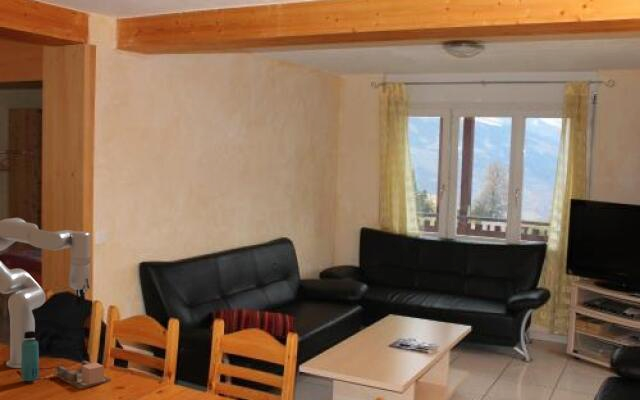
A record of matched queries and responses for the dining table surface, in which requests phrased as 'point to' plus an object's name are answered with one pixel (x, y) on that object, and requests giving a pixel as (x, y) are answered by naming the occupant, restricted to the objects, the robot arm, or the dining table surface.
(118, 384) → the dining table surface
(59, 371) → the chute
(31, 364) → the beverage bottle
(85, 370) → the block
